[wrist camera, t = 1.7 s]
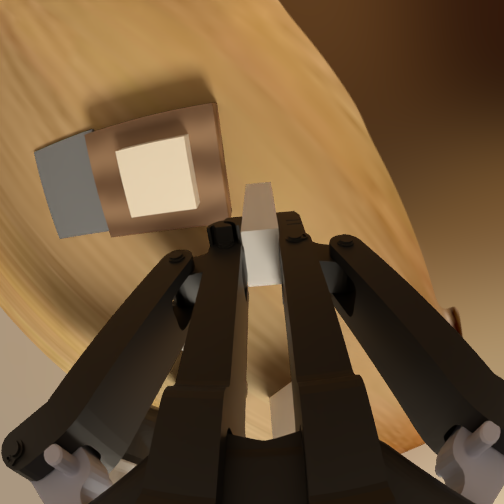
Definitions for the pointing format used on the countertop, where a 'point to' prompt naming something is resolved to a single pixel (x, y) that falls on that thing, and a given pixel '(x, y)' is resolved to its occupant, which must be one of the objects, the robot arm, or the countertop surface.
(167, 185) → the coaster
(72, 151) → the rubber mat
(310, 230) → the countertop surface
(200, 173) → the walnut board
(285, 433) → the milk
